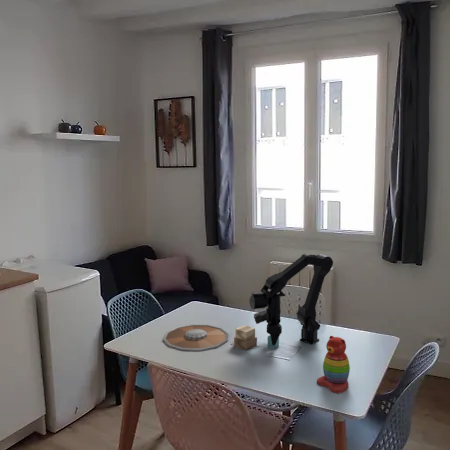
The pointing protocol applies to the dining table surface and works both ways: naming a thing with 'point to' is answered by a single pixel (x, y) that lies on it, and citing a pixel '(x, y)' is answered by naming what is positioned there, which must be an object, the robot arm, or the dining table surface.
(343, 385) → the stacking bear
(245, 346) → the walnut base block
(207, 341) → the shield
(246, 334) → the oak top block
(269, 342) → the teal cylinder
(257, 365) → the dining table surface
